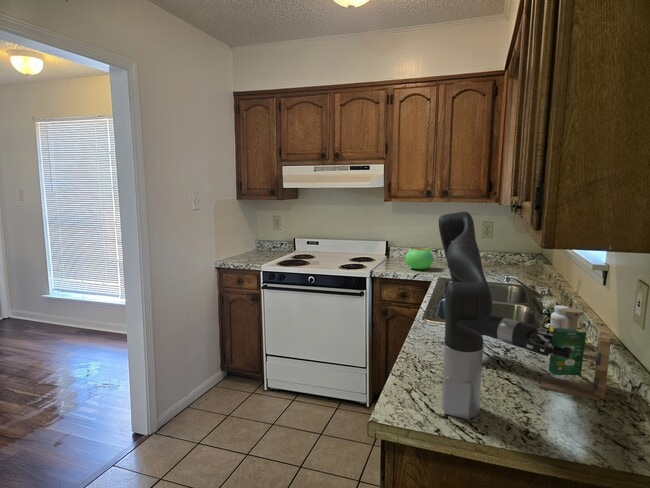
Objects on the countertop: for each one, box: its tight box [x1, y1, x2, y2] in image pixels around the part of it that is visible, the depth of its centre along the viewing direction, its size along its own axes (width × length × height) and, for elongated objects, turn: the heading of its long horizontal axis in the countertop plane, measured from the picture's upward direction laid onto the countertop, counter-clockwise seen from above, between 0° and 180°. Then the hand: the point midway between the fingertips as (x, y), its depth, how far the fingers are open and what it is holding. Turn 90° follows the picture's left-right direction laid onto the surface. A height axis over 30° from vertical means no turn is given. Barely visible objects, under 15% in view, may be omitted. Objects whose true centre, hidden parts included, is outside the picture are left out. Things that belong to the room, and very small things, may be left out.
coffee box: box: [548, 328, 587, 376], centre depth 116 cm, size 8×3×13 cm, turn 89°
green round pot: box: [405, 247, 435, 270], centre depth 273 cm, size 18×17×15 cm
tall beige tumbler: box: [561, 307, 585, 329], centre depth 139 cm, size 5×6×15 cm
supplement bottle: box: [549, 304, 570, 331], centre depth 150 cm, size 7×7×13 cm
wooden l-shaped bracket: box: [540, 328, 611, 402], centre depth 117 cm, size 12×15×16 cm
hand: (575, 350), depth 114 cm, fingers closed on coffee box, 7 cm apart
